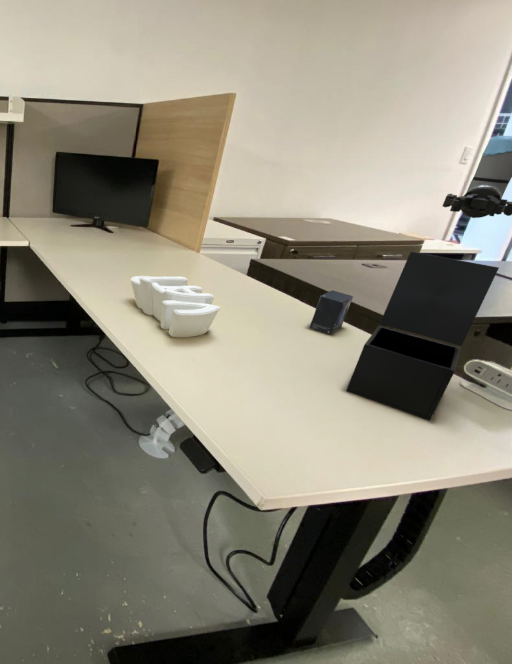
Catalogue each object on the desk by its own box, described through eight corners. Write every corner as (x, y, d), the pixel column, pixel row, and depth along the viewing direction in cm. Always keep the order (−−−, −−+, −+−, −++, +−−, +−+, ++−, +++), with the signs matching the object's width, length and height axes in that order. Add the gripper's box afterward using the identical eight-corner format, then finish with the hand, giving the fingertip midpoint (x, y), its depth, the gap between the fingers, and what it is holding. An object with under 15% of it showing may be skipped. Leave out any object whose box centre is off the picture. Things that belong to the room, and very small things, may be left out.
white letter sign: (224, 344, 124) (233, 307, 120) (166, 344, 121) (174, 306, 117) (169, 299, 155) (175, 268, 151) (122, 298, 152) (127, 267, 148)
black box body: (429, 421, 96) (455, 370, 91) (345, 391, 105) (364, 344, 100) (437, 393, 107) (460, 347, 102) (361, 368, 117) (378, 325, 112)
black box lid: (499, 267, 98) (498, 267, 99) (410, 251, 107) (410, 251, 108) (461, 346, 102) (461, 345, 103) (379, 323, 111) (379, 323, 112)
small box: (331, 335, 136) (343, 302, 131) (308, 328, 140) (319, 295, 135) (342, 327, 143) (354, 295, 138) (320, 320, 147) (331, 289, 142)
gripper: (521, 223, 115) (523, 232, 99) (430, 210, 126) (419, 217, 110) (536, 191, 112) (541, 196, 96) (442, 181, 122) (432, 184, 106)
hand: (476, 207), depth 103 cm, fingers open, 5 cm apart
